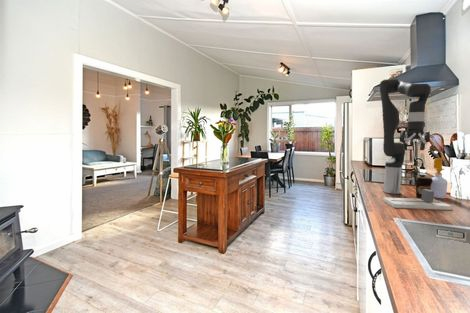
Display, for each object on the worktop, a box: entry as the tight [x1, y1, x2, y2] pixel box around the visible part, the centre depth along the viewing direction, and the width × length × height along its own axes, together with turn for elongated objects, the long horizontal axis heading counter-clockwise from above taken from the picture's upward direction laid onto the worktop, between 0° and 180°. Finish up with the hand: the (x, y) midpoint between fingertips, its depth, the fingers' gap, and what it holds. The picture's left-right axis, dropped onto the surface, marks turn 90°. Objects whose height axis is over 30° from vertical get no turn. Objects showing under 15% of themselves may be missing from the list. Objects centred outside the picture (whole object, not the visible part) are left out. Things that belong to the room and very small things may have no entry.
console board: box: [382, 196, 452, 211], centre depth 137 cm, size 13×28×2 cm, turn 83°
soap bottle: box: [431, 157, 448, 199], centre depth 153 cm, size 9×9×25 cm
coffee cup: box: [415, 176, 433, 199], centre depth 149 cm, size 9×8×13 cm
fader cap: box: [421, 189, 434, 202], centre depth 136 cm, size 5×3×6 cm, turn 173°
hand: (413, 150), depth 138 cm, fingers open, 8 cm apart
